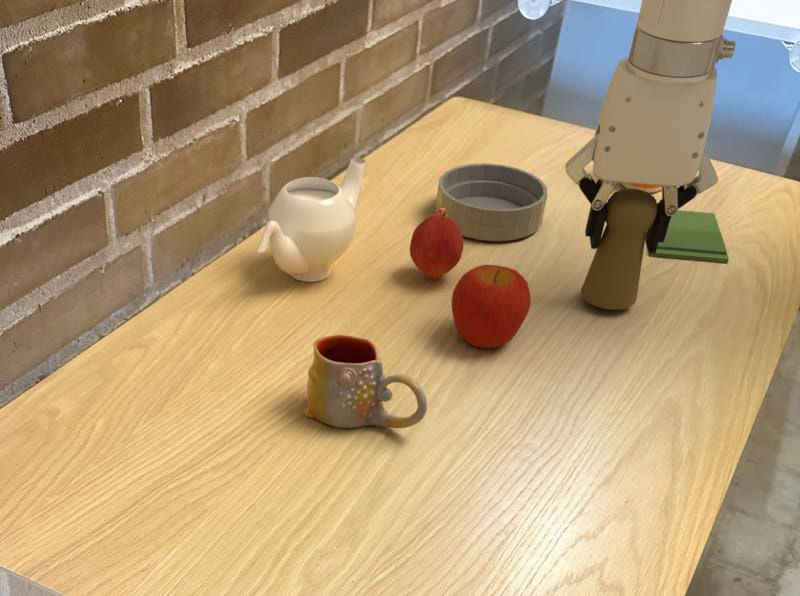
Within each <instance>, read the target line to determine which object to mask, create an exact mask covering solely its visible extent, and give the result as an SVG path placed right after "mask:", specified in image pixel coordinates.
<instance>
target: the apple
mask: <svg viewBox="0 0 800 596" xmlns="http://www.w3.org/2000/svg"><path fill="white" fill-rule="evenodd" d="M450 303H451V313H452V318H453V322H454V325H455V328H456V331H457V333H458V335H459V336H460V337H461V338H462V339H463V340H465V341H466V342H467V343H469V344H470V345H472V346H474V347H476V348H480V349H493V348H498V347H502V346H504V345H506V344H507V343H509V342H511V341H512V340H513V338H514V337H515V336H516V335H517V333H518V332H519V330H520V328H521V327H522V325H523V323H524V322H525V320H526V317H527V316H528V314H529V312H530V308H531V294H530V289H529V283H528V281H527V280H526V279H525V278H524V276H523V275H522V274H520V272H518V271H517V270H516V269H513V268H510V267H508V266H502V265H497V264H483V265H479V266H475V267H474V268H471V269H469V270H468V271H467V272H465V273H464V274H463V275H462V276H461V278H460V279H459V280H458V282H457V283H456V285H455V287H454V289H453V291H452V296H451V302H450Z"/></svg>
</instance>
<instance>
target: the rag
mask: <svg viewBox="0 0 800 596" xmlns="http://www.w3.org/2000/svg"><path fill="white" fill-rule="evenodd" d="M718 223H719V222H718V220H717V217H716V214H715V213H714V212H706V211H705V212H704V211H694V210H693V211H691V210H682V209H681V210H680V209H678V211H677V213H676V214H675V215H673V216H671V219H670V223H669V226H668V229H667V233H666V236H665V240H664V242H659V243H658V246H657V249H656V253H655V254H653V253H649V256H650V257H655V258H656V257H657V258H669V259H681V260H688V261H689V260H690V261H691V260H692V261H701V262H703V261H704V262H715V263H725V264H728V263H729V260H730V258H729V255H728V251H727V246H726V244H725V241H724V238H723V234H722V232H721V230H720V226H719V224H718ZM647 232H648V230H647V231H646V235H647Z"/></svg>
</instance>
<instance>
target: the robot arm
mask: <svg viewBox="0 0 800 596" xmlns="http://www.w3.org/2000/svg"><path fill="white" fill-rule="evenodd" d="M732 3H733V0H641V4H640V9H639V12H638V16H637V21H636V26H635V29H634V33H633V37H632V42H631V47H630V50H629V54H628V57H623V58H621V59H619V60H618V62H617V65H616V67H615V69H614V72H613V74H612V77H611V80H610V82H609V86H608V88H607V91H606V94H605V96H604V100H603V103H602V107H601V110H600V113H599V116H598V121H597V124H596V128H595V130H594V131H595V132H594V135H593V137H592V138H591V139H590V140H589V141H588V142H587V143H586V144H585V145H584V146H582V147H581V148H580V149H579V150H578V151H577V152H576V153H574V155H573V156H571V157H570V159H568V160H567V161H566V162H565V164H564V165H565V173H566V175H568V177H569V179H571V180H572V181H573V182H574V183H575V184H576V185H577V186H578V188H579V190H580V191H581V192H582V194H583V195H584V197H585V199H586V200H587V201H588V203H589V204H590V208H589V212H588V216H587V220H586V226H585V231H584V232H585V233H584V234H585V237H587V238H588V237H589V241H590V242H589V243H590V248H591V250H592V249H593V250H597V248H599V244H600V240H601V237H602V235H603V232H604V229H605V224H606V221H605V220H606V216H607V209H606V203H607V201H608V199H609V198H610V197H611V195H612V192H613V191H614V189H615V187H616V185H617V184H621V183H628V184H641V185H655V186H662V190H661V199H660V200H659V202H657V201H656V202H657V207H658V209H657V216H656V219H655V221H654V222H653V224H652V226H651V227H650V228H649V229H648V232H647V235H646V238H645V245H646V249H647V253H649V254H650V253H653V254H655V253H656V249H657V246H658V243H659V242H664V240H665V236H666V233H667V229H668V226H669V223H670V219H671V216H673V215H675V214H676V213H677V211H678V210H680V209H681V208H682V207H684V206H686V205H687V204H688V203H689V202H691V201H692V200H694V199H695V198H696V197H697V195H699V194H702V193H703V192H705V191H707V190H709V189H710V188H712V187H714V186H715V185H716V184H717V183H718V181H719V178H718V174H717V171H716V170H715V168H714V166H713V164H712V161H711V159H710V157H709V155H708V154H707V151H706V149H705V147H706V142H707V138H708V134H709V129H710V124H711V119H712V114H713V108H714V105H715V103H714V102H715V98H716V90H717V79H718V72H717V71H718V70H717V68H716V64H718V62H719V60H724V59H732V58H733V56H734V53H735V49H736V41H734V40H728V38H724V36H723V33H724V29H725V25H726V22H727V19H728V17H729V16H728V15H729V13H730V10H731V5H732ZM591 162H593V166H592V173H593V176H594V177H596V178H597V179H596V181H595V180H594V178H593V177H592V175H591V174H589V173H588V172H587V171H586V169H585V168H586V166H588V165H589V164H590V163H591ZM697 174H698V175H697Z"/></svg>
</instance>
